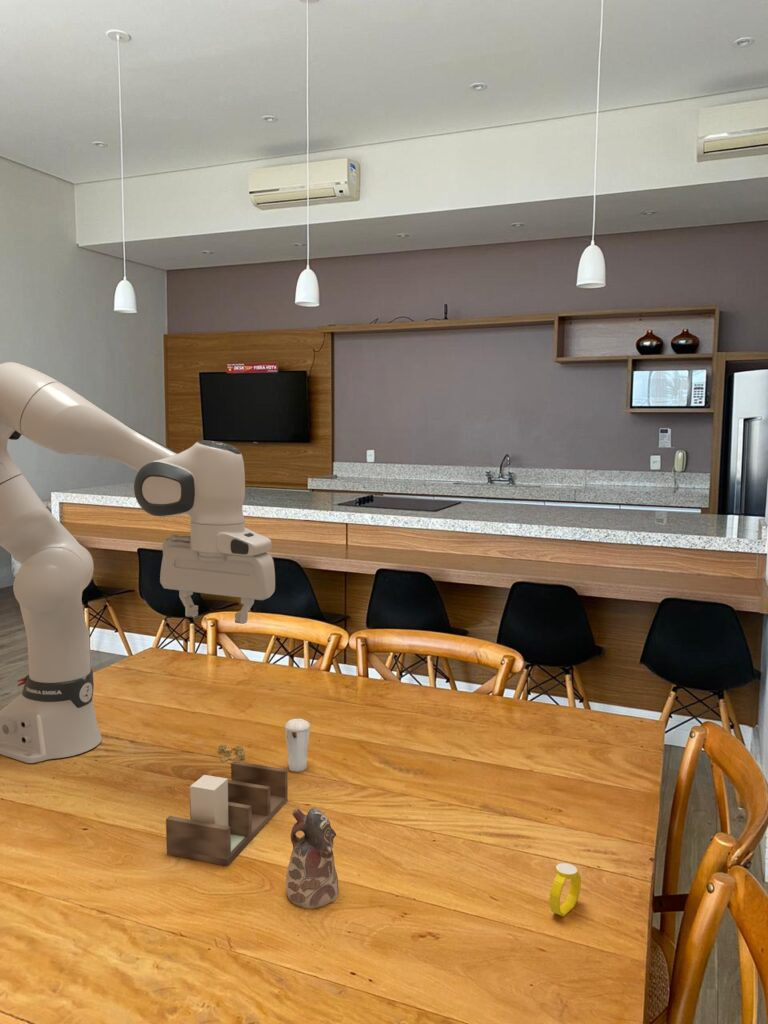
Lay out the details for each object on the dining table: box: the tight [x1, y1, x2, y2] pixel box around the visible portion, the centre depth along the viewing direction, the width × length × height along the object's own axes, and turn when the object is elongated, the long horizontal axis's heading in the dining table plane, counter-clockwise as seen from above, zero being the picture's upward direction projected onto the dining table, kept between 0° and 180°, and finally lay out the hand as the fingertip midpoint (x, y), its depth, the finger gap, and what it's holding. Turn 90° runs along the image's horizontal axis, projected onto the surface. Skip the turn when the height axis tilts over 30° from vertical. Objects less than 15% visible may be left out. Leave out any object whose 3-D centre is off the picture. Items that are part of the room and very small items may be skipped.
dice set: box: [218, 744, 246, 763], centre depth 152 cm, size 5×5×2 cm
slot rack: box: [165, 760, 289, 867], centre depth 126 cm, size 10×21×6 cm, turn 163°
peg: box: [189, 774, 229, 826], centre depth 120 cm, size 4×4×9 cm
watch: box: [548, 862, 582, 918], centre depth 105 cm, size 6×3×6 cm, turn 139°
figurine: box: [285, 807, 340, 910], centre depth 108 cm, size 7×7×12 cm
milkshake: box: [284, 716, 314, 773], centre depth 146 cm, size 5×5×10 cm
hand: (216, 619), depth 135 cm, fingers open, 8 cm apart
